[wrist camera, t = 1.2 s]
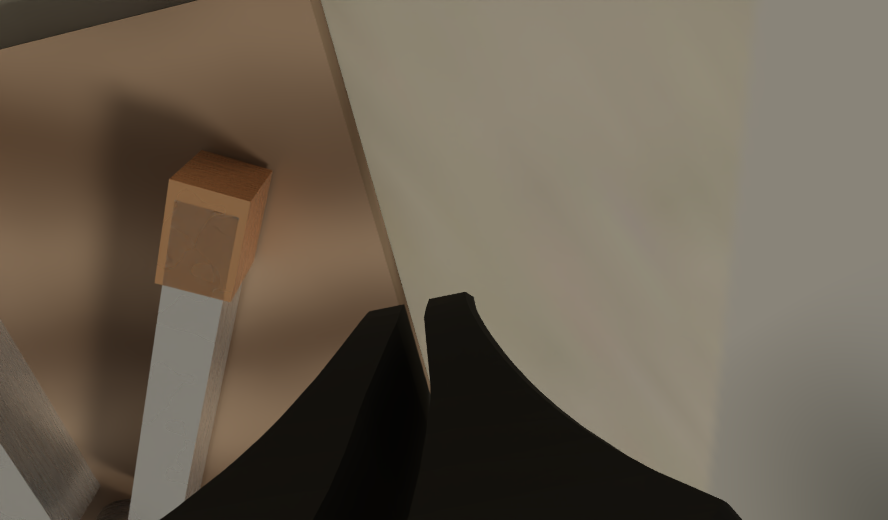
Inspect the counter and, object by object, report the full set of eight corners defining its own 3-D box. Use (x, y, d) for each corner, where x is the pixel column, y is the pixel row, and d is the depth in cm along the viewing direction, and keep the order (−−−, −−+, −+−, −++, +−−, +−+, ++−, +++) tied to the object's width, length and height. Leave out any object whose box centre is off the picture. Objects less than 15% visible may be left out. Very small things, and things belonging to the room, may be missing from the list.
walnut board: (458, 483, 26) (459, 513, 25) (-93, 580, 28) (-119, 612, 27) (312, -29, 18) (302, -26, 17) (-446, 160, 20) (-509, 176, 19)
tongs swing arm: (203, 501, 24) (179, 559, 22) (147, 490, 24) (117, 547, 22) (272, 170, 19) (250, 201, 16) (201, 149, 18) (168, 178, 16)
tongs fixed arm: (196, 552, 26) (157, 652, 22) (102, 568, 26) (48, 670, 22) (-40, 121, 18) (-157, 166, 15) (-167, 152, 19) (-311, 203, 15)
